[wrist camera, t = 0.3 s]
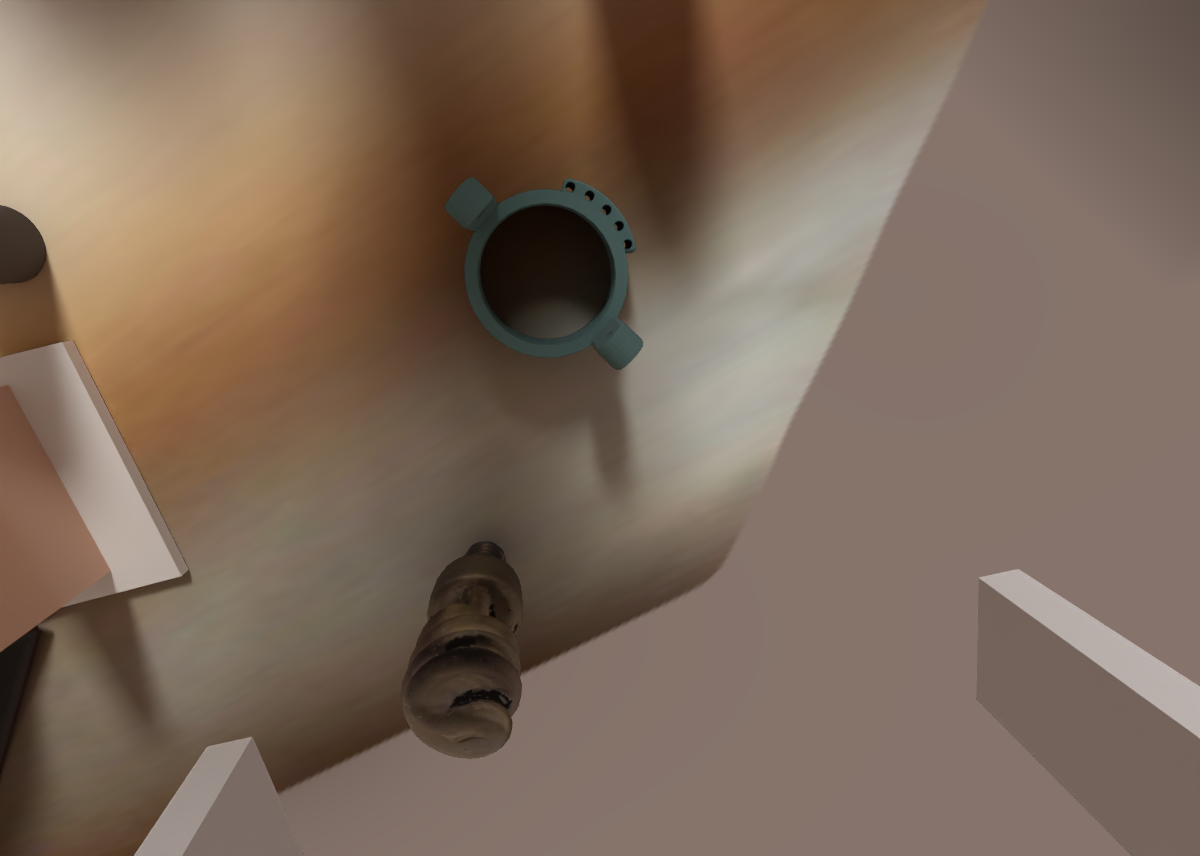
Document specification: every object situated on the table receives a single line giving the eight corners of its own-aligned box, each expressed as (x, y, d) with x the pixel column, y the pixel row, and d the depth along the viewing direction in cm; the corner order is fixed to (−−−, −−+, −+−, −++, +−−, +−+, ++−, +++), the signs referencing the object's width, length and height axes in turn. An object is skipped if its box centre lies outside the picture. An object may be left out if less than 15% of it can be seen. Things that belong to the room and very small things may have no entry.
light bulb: (534, 585, 40) (533, 766, 26) (454, 602, 40) (409, 794, 26) (516, 511, 39) (504, 660, 24) (433, 528, 38) (372, 689, 24)
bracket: (617, 348, 36) (643, 374, 28) (465, 340, 35) (444, 365, 27) (628, 193, 34) (660, 169, 26) (466, 179, 33) (443, 150, 24)
